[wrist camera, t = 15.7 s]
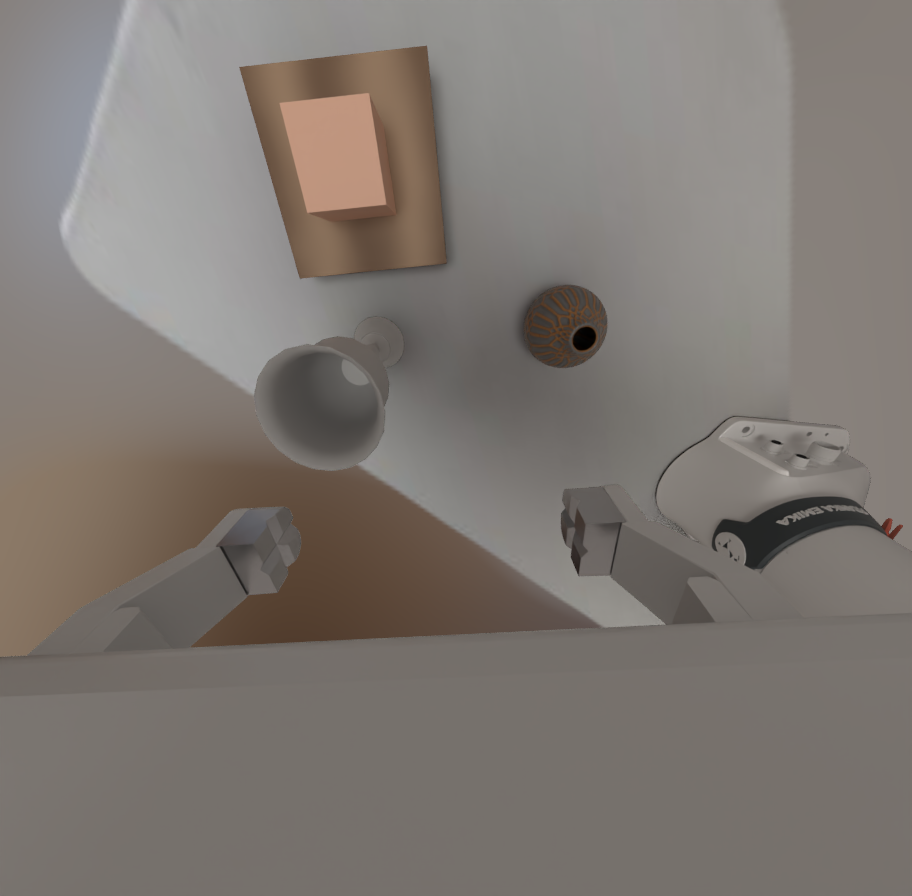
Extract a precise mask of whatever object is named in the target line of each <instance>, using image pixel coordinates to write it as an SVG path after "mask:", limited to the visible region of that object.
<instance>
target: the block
mask: <svg viewBox="0 0 912 896" xmlns="http://www.w3.org/2000/svg"><path fill="white" fill-rule="evenodd" d="M280 107H281V111H282V115H283V119H284V123H285V127H286V131H287V135H288V139H289V143H290V147H291V151H292V155H293V158H294V162H295V166H296V170H297V174H298V178H299V182H300V186H301V190H302V194H303V198H304V202H305V206H306V210H307V213H309V214H312V215H314V216H317V217H320V218H322V219H325V220H328V221H330V222H334V221H344V220H353V219H363V218H372V217H382V216H391V215H396V208H395V201H394V194H393V187H392V180H391V174H390V167H389V160H388V153H387V146H386V139H385V132H384V126H383V124H382V121H381V119H380V117H379V115H378V112H377V110H376V108H375V105H374V103H373V101H372V99H371V96H370V94H369V93H364V94H355V95H346V96H337V97H328V98H319V99H310V100H301V101H292V102H283V103H280Z"/></svg>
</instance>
